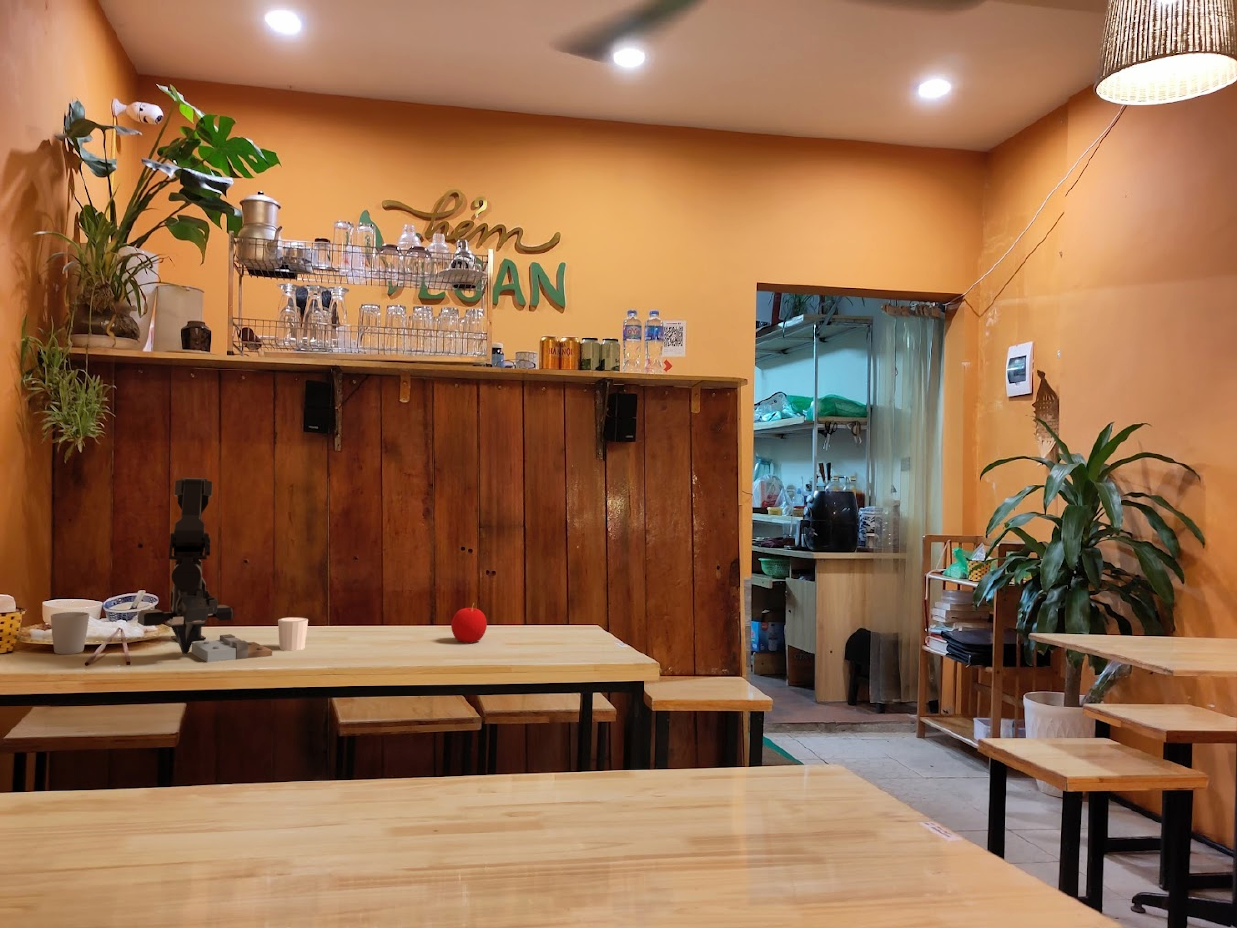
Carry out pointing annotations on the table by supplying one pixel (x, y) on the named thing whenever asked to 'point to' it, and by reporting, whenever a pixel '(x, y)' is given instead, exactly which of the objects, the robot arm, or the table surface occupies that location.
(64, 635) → the cup
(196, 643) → the leaf
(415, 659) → the table surface
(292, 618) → the pale pink tumbler
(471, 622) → the fruit
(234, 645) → the leaf
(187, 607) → the robot arm
